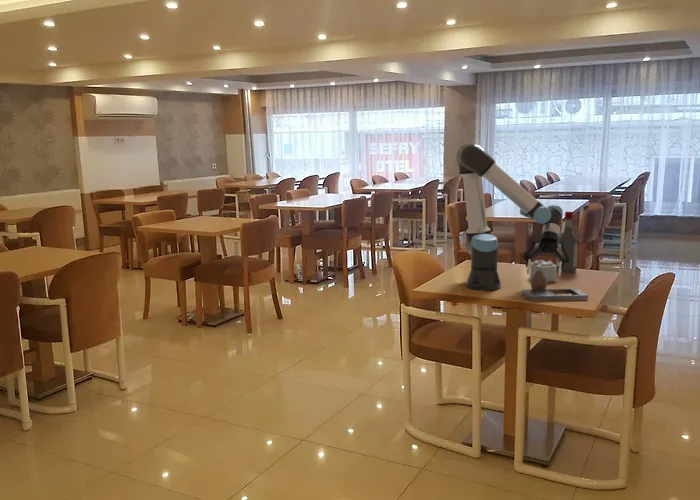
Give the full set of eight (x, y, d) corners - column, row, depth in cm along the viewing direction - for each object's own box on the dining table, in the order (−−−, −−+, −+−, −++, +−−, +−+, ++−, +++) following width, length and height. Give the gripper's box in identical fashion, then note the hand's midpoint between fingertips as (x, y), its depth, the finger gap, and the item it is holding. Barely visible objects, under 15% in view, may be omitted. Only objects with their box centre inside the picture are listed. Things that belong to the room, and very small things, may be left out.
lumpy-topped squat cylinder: (539, 282, 291) (540, 264, 290) (525, 276, 303) (525, 259, 302) (558, 281, 294) (559, 263, 292) (544, 275, 306) (544, 258, 304)
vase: (547, 289, 276) (548, 270, 275) (545, 293, 270) (546, 273, 269) (531, 288, 279) (532, 269, 278) (529, 292, 273) (529, 272, 272)
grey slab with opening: (530, 301, 258) (531, 296, 257) (521, 294, 270) (522, 289, 269) (587, 299, 259) (587, 295, 258) (576, 292, 270) (576, 288, 270)
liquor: (574, 269, 319) (577, 211, 313) (576, 272, 310) (579, 213, 305) (555, 268, 321) (558, 210, 315) (557, 272, 312) (560, 213, 307)
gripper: (579, 241, 282) (573, 281, 272) (523, 238, 294) (515, 276, 283) (578, 231, 277) (572, 271, 267) (521, 229, 288) (513, 267, 278)
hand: (543, 274), depth 275 cm, fingers open, 13 cm apart
